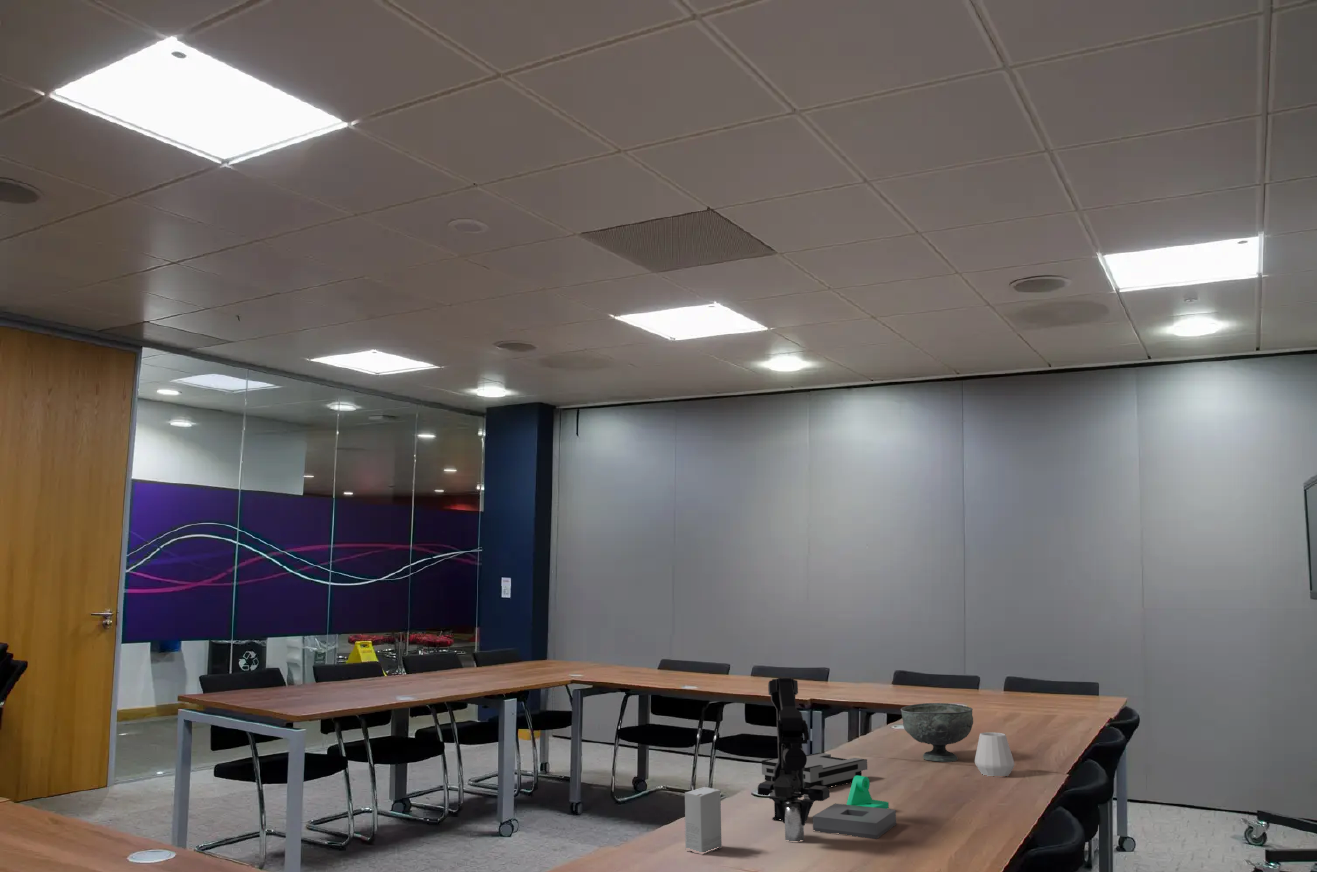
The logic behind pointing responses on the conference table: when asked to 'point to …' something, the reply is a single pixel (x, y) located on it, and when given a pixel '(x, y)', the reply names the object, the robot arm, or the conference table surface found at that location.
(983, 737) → the white faceted vase
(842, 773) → the game console
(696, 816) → the skincare box
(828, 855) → the conference table surface
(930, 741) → the decorative bowl
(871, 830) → the mount block
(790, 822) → the tube
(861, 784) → the camera mount
